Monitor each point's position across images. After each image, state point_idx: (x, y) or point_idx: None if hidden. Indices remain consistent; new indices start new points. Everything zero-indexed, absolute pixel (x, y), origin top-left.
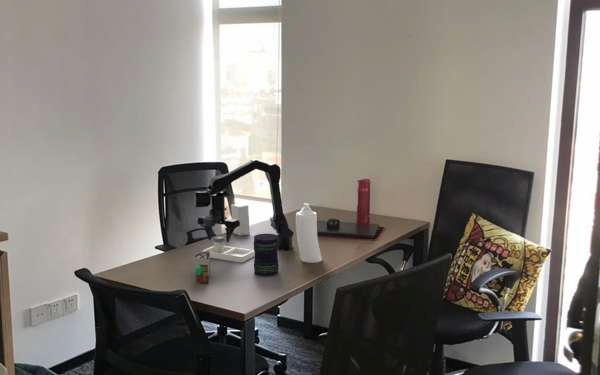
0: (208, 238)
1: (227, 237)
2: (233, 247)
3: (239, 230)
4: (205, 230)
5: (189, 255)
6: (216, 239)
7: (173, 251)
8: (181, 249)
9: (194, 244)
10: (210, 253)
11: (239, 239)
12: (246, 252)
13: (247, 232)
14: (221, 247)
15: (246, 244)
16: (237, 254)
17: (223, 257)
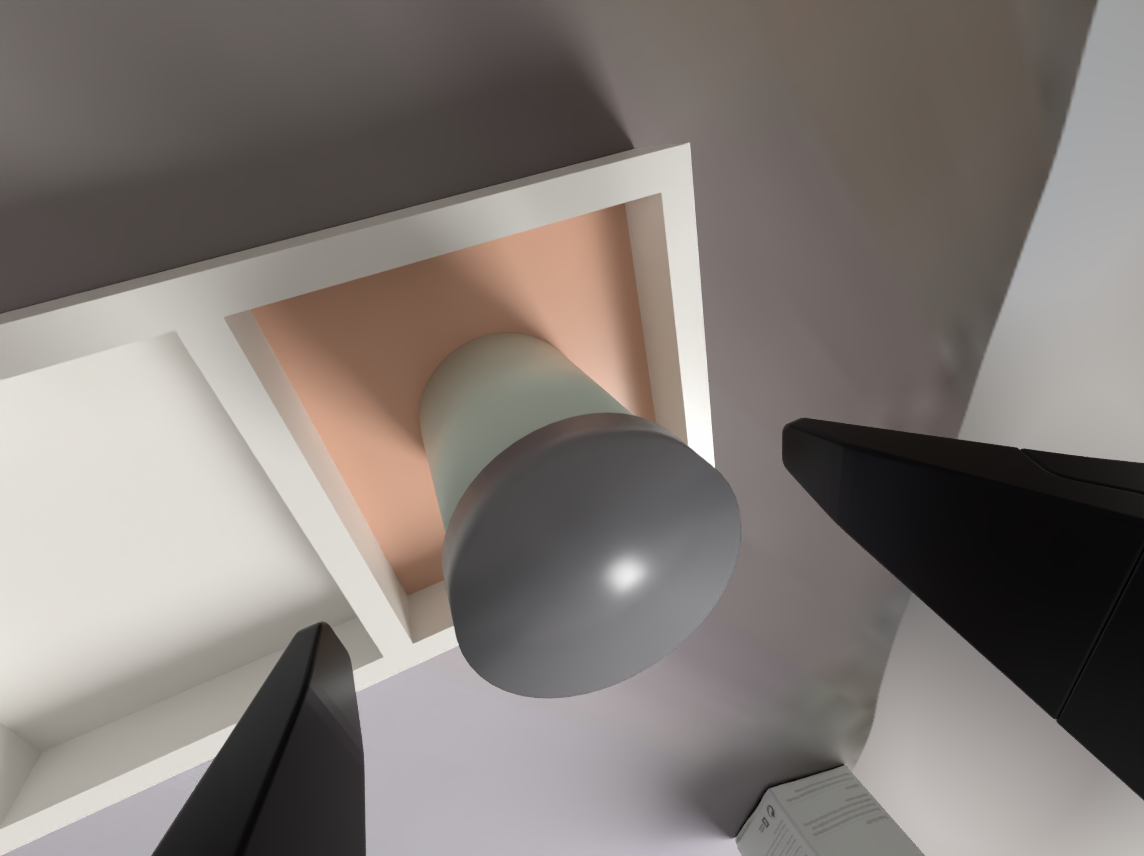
0: (830, 421)
1: (215, 778)
2: (435, 650)
3: (801, 831)
4: (1136, 467)
5: (820, 49)
6: (556, 469)
7: (1065, 62)
8: (1009, 208)
9: (957, 430)
10: (486, 195)
11: (720, 765)
12: (163, 717)
13: (752, 849)
14: (436, 462)
15: (578, 778)
16: (242, 588)
17: (148, 281)
